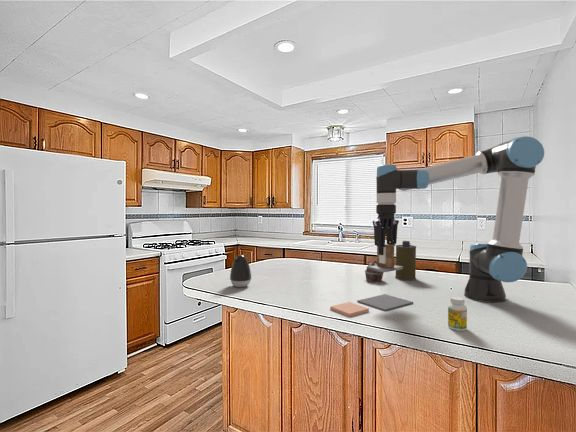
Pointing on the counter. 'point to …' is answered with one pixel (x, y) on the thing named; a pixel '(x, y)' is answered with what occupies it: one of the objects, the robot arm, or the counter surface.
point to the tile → (349, 309)
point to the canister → (406, 261)
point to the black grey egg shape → (240, 272)
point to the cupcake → (373, 274)
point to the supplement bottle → (457, 314)
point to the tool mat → (385, 302)
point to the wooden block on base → (389, 261)
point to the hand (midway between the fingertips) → (385, 262)
